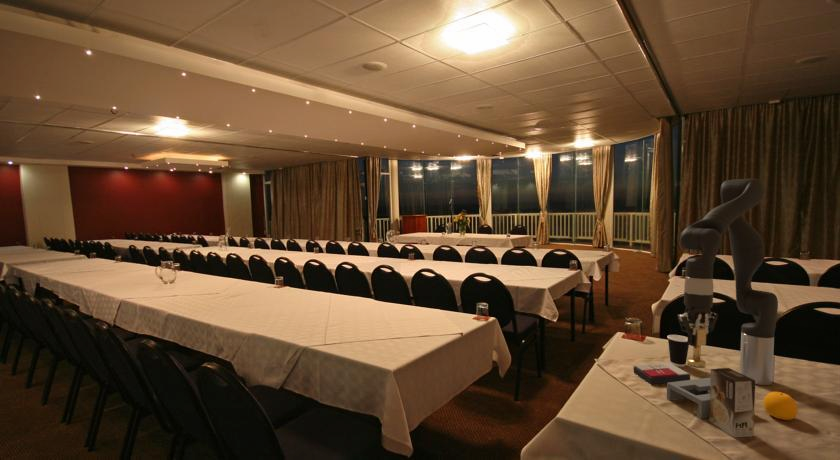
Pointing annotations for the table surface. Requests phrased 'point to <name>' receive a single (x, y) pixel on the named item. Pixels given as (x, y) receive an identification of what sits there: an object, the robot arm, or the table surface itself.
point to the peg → (698, 349)
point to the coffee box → (732, 402)
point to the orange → (780, 406)
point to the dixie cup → (678, 349)
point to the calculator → (660, 373)
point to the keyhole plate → (692, 393)
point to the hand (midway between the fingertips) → (696, 344)
